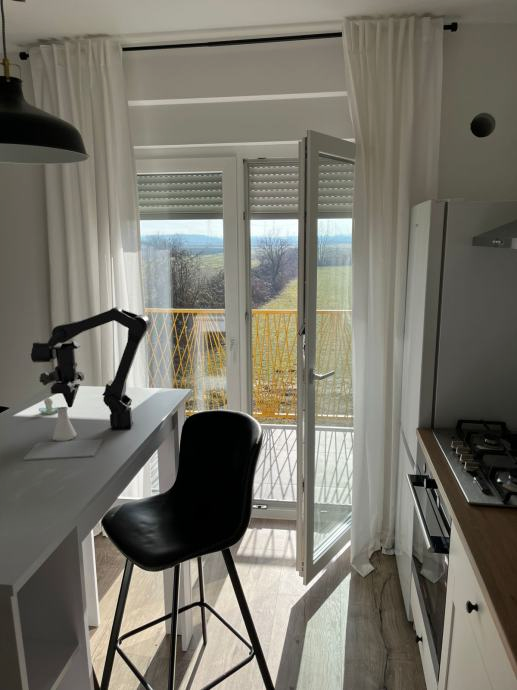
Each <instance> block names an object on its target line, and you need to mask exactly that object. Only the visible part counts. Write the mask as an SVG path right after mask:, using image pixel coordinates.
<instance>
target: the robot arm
mask: <svg viewBox="0 0 517 690" xmlns="http://www.w3.org/2000/svg"><path fill="white" fill-rule="evenodd" d="M110 322H116V323H118V324H120V325H121V326H123V327H125V328H127V341H126V345H125V347H124V350H123V353H122V356H121V359H120V361H119V365H118V366H117V367H118V368H117V370H116V372H115V376H114V379H113V380H112V379H110V380H109V381H108V382H107V383H106V384H105V388H104V392H103V394H101V396H103V399H102V401H103V402H104V405H106V406H107V407H108V409H109V411H110V415H109V423H110V425H109V426H110V427H111V428H110V430H111V431H114V430H119V431H121V430H130V429H132V427H133V425H134V421H133V412H132V407H131V405H132V402H133V399H131V398H130V397H129V396H128V395H127V394H126V392H127V381H128V377H129V375H130V371H131V369H132V366H133V363H134V360H135V357H136V355H137V353H138V349H139V345H140V344H141V342H142V341H143V339H144V337H145V336H146V334H147V332H148V331H149V329H150V327H151V320H150V319H149V317H148V316H146V315H144V314H137V313H134V312H131V311H128V310H125V309H123V308H120V307H118V306H115V307H113V308H111V309H109V310H106V311H103V312H100V313H98V314H95V315H93V316H90V317H87V318H84V319H82V320H77V321H69V322H64V323H61V324H59V325H57V326H55V327H53V329H52V331H51V337H50V339H48V341H46V342H45V341H44V342H40V341H35V342H33V343H32V348H31V353H30V359H31V362H33V363H34V364H37V363H40V364H41V363H42V364H43V363H52V362H53V361H54V360H55V359H56V366H55V367H54V369H53V370H50V371H48V372H47V371H45V372H42V373H40V376H39V382H40V383H41V384H42V385H43V386H47V385H48V384H49V383H52V382H54V381H55V382H54V384H53V385H52V386H51V387H50V388H49V389H50V394H52V395H55V394H61V395H62V396H63V398H64V400H65V402H66V404H67V407H68V408H72V407H73V406H74V402H75V399H76V397H77V394H78V391H79V388H80V386H81V384H80V383H76V382H75V381H76V380H77V381H78V380H79V381H80V382H83V381H84V380H85V376H84V373H83V372H82V371H77V367H78V363H77V362H76V356H75V354H76V353H75V350H77V349H79V348H80V347H81V344H79V343H78V342H77V341H76V340H73V341H71V342H70V343H69V342H67V341H70V340H72V339H74V338H75V337H77V336H78V335H80V334H83V333H84V332H87V331H90V330H92V329H94V328H97V327H99V326H102V325H105V324H108V323H110ZM66 342H67V343H66ZM58 344H60V345H58Z"/></svg>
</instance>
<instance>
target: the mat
mask: <svg viewBox="0 0 517 690" xmlns="http://www.w3.org/2000/svg"><path fill="white" fill-rule="evenodd" d="M103 441H104V439H85V440H82V439H80V440H67V441H47V442H46V441H42V442H37V443H36V444H35V445H34V446H33V448H31V450H30V451H28V453H27V454H26V456H24V458H23V461H31V460H33V461H34V460H53V459H69V458H86V457H87V458H89V457H95V455H96V454H97V453H98V450H99V449H100V446H101V445H102V443H103Z"/></svg>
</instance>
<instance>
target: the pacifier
mask: <svg viewBox="0 0 517 690" xmlns="http://www.w3.org/2000/svg"><path fill="white" fill-rule="evenodd" d="M43 402H44V405H45V407H38V411H39V413H43V414H44V415H55V413H58V411H57V408H59V407H60V406H58V407H57V406H55V407H53V403H54V402H53V400H52V398H50V397H46V398H44V401H43Z"/></svg>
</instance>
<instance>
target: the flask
mask: <svg viewBox="0 0 517 690" xmlns="http://www.w3.org/2000/svg"><path fill="white" fill-rule="evenodd" d="M58 407H59V408H57V411H58V412H57V422H56V425H55V429H54V432H53V435H52V438H51V439H52V440H53V441H55V442H61V441H71V440H72V439H75V438H76V437H77V436H78V434H77V432H76V429H75V428H74V426H73V424H72V423H71V422H72V421H70V418H69V415H68V408H69V407H68V406H58Z"/></svg>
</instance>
